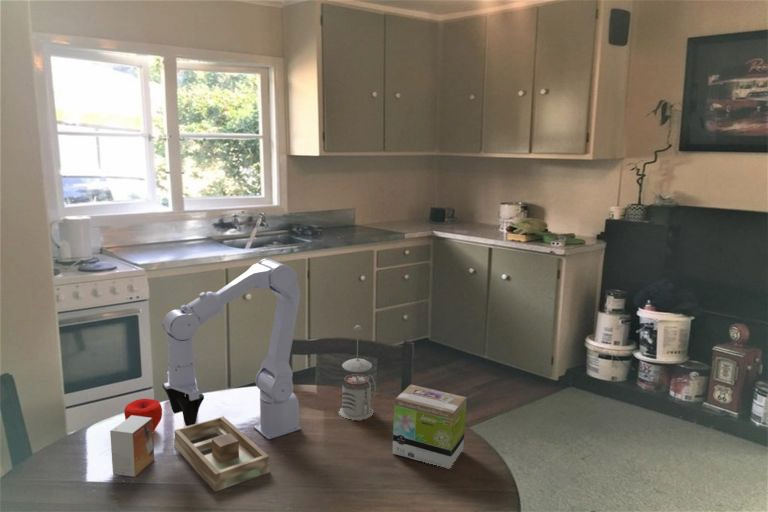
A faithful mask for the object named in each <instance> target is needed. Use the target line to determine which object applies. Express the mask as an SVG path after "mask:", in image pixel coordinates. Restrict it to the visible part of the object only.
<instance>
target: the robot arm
mask: <svg viewBox="0 0 768 512" xmlns="http://www.w3.org/2000/svg"><path fill="white" fill-rule="evenodd" d="M298 275H299V274H298V273H296V271H295V269H293V268H292V267H291V266H290V265H288V264H283V263H281V262H278V261H276V260H275V259H272V258H269V257H268V258H263V259H261V260H260V261H258V262H257V263H254V264H252V265H251V266H250V267H249V268H248V269H247V270H246V271H245V272H243V273H242V274H241V275H239V276H237V277H236V278H235V279H233V280H232V281H231V282H229V283H228V284H226V285H225V286H224V287H221V288H220V289H219V290H217V292H215V291H214V292H213V291H207V292H204V291H202V292H201V293H199V294H198V297H197V298H196V299H194V300H192V301H190V302H189V303H187V304H186V305H185V304H183V305H181V306H180V309H173V310H171V311H169V312H167V313H166V315H165V317H164V318H163V320H162V321H163V322H161V327H162V329H163V330H164V331H165V332H166V342H167V343H166V347H167V348H166V350H167V366H168V368H167V369H168V371H167V372H166V380H167V382H164V383H163V384H162V388H163V389H164V392H165V393H166V395H167V397H168V400H169V403H170V406H171V407H170V408H171V410H172V413H173V414H174V415H176V414H178V413H182V417H183V420H184V421H183V422H184V424H185V427H187V426H191V425H194V424H197V419H198V418H197V417H198V415H199V414H198V413H199V410H200V407H201V405H202V404H203V401H204V399H205V395H204V394H203V393H200V390H199V389H198V384H197V383H198V382H197V378H196V369H195V368H196V367H195V366H196V365H195V344H194V336H195V335H196V333H197V331H198V328H200V327H201V326H202V325H203V326H204V325H205V324H206V323H207V322H209V321H210V320H211V319H213V318H215V317H217V316H218V315H219V314H221V313H222V312H223V311H224V307H225V305H227V304H228V303H230V302H231V301H233V300H235V299H236V298H238V297H241V296H242V295H244V294H246V293H248V292H250V291H251V290H253V289H262V290H263V289H264V290H271V292H272V293H273V294H274V295H275V297H276V298H277V303H276V307H275V313H274V319H273V324H272V328H271V329H272V331H271V333H270V334H271V335H270V340H269V341H270V342H269V347H268V352H267V356H266V359H264V360H263V361H262V362H261V365H260V368H259V370H258V372H257V374H256V376H255V381H254V382H255V385H256V387H257V388H258V389H259V413H260V415H259V416H260V417H259V418H260V419H259V421H260V423H259V424H255V425H254V426H253V428H254V430H256V431H257V432H258V433H260V434H261V435H262V436H263V437H264V438H265V439H267V440H271V439H274V438H278V437H282V436H284V435H287V434H290V433H293V432H296V431H299V430H301V429H302V427H301V426H300V404H299V400H298V397H297V395H296V393H294V388H295V387H294V381H293V370H292V367H291V364H290V363H289V362H290V358H291V357H290V356H291V351H292V345H293V340H294V334H295V328H296V323H297V317H298V312H299V306H300V300H301V293H302V292H301V290H300V287H299V284H298V277H299V276H298Z"/></svg>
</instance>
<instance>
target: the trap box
mask: <svg viewBox="0 0 768 512" xmlns="http://www.w3.org/2000/svg"><path fill="white" fill-rule="evenodd" d="M173 431H174V438H173V447H174V448H175V449H176V450H177V451H178V450H179V451H178V452H179V453H180V454H181V455H182V457H184V459H185V460H186V461H187V462H188V464H190V466H191V467H192V468H193V469H194V470H195V471H196V472H197V474H199V475H200V477H201V478H202V479H203V480H204V482H206V484H207V485H208V486H209V487H210V488H211V489H212V490H213V491H214V492H215V493H216V492H218V491H222V490H223V489H224V490H225V489H227V488H230V487H233V486H235V485H238V484H241V483H243V482H246V481H249V480H252V479H256V478H258V477H260V476H262V475H266V474H269V473H271V464H270V455H268V454H267V453H266V452H265V451H264V450H263V449H261V448H260V447H259V446H258V445H257V444H255V443H254V442H253V441H252V440H251V439H250V438H249V437H248V436H246V435H245V434H244V433H243V432H242V431H241V430H240V429H239V428H238V427H236V426H235V425H234V424H233V423H231V422H230V421H229V419H227V418H226V417H225V416H223V415H222V416H220V417H216V418H212V419H209V420H205V421H201V422H198V423H195V424H193V425H190V426H184V427H181V428H177V429H174V430H173ZM229 433H230V434H232V435H233V436H234V437H235V438H236V439H237V440H238V441H239V457H238V458H235V459H232V460H229V461H226V462H223V463H220V462H219V461H218V460H217V459H216V458H215V457H214V456H213V455H212V439H213V438H216V437H219V436H223V435H226V434H229Z"/></svg>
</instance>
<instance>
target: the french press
mask: <svg viewBox="0 0 768 512" xmlns="http://www.w3.org/2000/svg"><path fill="white" fill-rule="evenodd" d="M354 330H355V331H356V332H357V334H356V335H357V336H356V358H351V359H348V360H346V361H344V362H343V363H342V364H341V366H342V368H343V370H345V371H346V372H350V373H352V374H348V375H346V376H345V377H344V378H343V381H344V382H343V383H342V391H341V392H342V401H341V402H342V405H341V406H342V407H341V408H340V409H339V410H340V411H339V410H338V415H339V416H340V415H341V416H342V417H344V418H343V419H345V418H347V419H352V420H351V421H354V420H357V421H363V420H362V419H365V418H368V417H370V416H372V415H373V416H374V414H375V411H374V409H373V408H372V407H371V405H372V404H371V403H372V401H371V400H373V399H374V398H375V396H376V392H377V391H376V389H377V387H376V382H375V379H374V377H373V375H371V373H368V375H364V374H358V373H363V372H367V371H369V370H371V369H372V367H373V364H372V362H370V361H368V360H366V359H364V358H358V356H359V332H360V331H361V330H362V326H361V325H358V324H357V325H355V326H354ZM353 373H355V374H353ZM370 378H371V379H372V381H373V385H374V393H373V396H372V383H371V382H370V381H371V379H370ZM364 386H369V387H364ZM356 387H357V388H356ZM359 387H362V388H359ZM373 411H374V412H373ZM373 413H374V414H373ZM341 416H340V417H341ZM373 416H372V417H373ZM342 417H341V418H342ZM370 418H371V417H370ZM347 419H346V420H347ZM358 419H359V420H358ZM365 420H366V419H365Z"/></svg>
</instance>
